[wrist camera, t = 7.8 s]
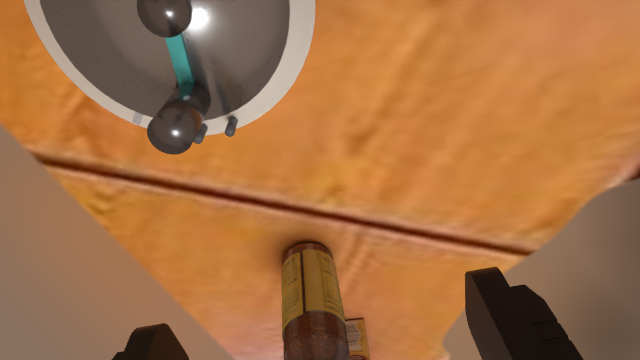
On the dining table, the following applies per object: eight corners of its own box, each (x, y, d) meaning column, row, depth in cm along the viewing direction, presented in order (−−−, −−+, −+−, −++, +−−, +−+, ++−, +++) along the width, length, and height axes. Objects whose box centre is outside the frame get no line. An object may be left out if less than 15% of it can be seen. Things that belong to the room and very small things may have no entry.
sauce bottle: (289, 283, 49) (287, 466, 32) (275, 245, 45) (263, 427, 28) (341, 272, 48) (367, 452, 31) (330, 233, 45) (353, 411, 28)
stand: (53, -264, 24) (13, -298, 20) (364, -65, 30) (373, -65, 27) (10, 64, 33) (-23, 78, 30) (252, 163, 40) (248, 184, 36)
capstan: (-7, -128, 26) (-121, -154, 19) (269, -160, 26) (260, -197, 19) (100, 127, 35) (52, 174, 28) (302, 105, 35) (304, 146, 28)
